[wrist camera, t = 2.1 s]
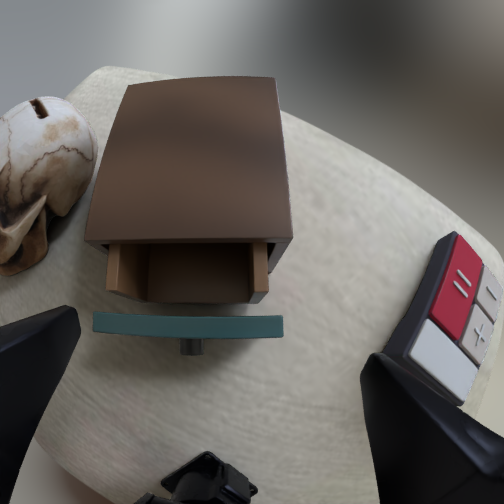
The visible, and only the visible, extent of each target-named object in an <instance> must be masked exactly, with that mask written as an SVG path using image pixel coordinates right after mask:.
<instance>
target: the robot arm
mask: <svg viewBox="0 0 504 504" xmlns="http://www.w3.org/2000/svg"><path fill="white" fill-rule="evenodd" d="M80 335H81V327H80V323H79V318H78V313H77V310H76V309H75V308H74V307H71V306H67V305H63V306H60V307H57V308H54V309H51V310H48V311H45V312H42V313H39V314H36V315H33V316H31V317H28V318H25V319H22V320H19V321H16V322H13V323H10V324H7V325H4V326H1V327H0V504H9V503H10V499H11V496H12V492H13V489H14V486H15V483H16V480H17V477H18V474H19V469H20V467H21V465H22V462H23V460H24V457H25V455H26V452H27V450H28V447H29V444H30V442H31V440H32V438H33V435H34V433H35V431H36V428H37V426H38V424H39V422H40V420H41V418H42V415H43V413H44V411H45V409H46V407H47V405H48V403H49V401H50V399H51V397H52V395H53V393H54V391H55V389H56V387H57V385H58V384H59V382H60V380H61V378H62V376H63V374H64V372H65V370H66V367H67V365H68V363H69V360H70V358H71V356H72V353H73V351H74V349H75V347H76V345H77V342H78V340H79V338H80ZM360 384H361V392H362V400H363V409H364V417H365V423H366V428H367V433H368V438H369V442H370V447H371V452H372V458H373V463H374V469H375V474H376V480H377V486H378V493H379V499H380V504H504V438H503V437H501V436H500V435H498V434H496V433H494V432H493V431H491V430H490V429H488V428H487V427H485V426H483V425H482V424H480V423H479V422H478V421H476V420H475V419H473V418H472V417H470V416H469V415H468V414H466V413H465V412H463V411H462V410H461V409H459V408H458V407H457V406H455V405H454V404H452V403H451V402H450V401H448V400H447V399H446V398H444V397H443V396H441V395H440V394H439V393H437V392H436V391H435V390H433V389H432V388H430V387H429V386H428V385H426V384H425V383H424V382H422V381H421V380H420V379H418V378H417V377H415V376H414V375H413V374H411V373H410V372H409V371H407V370H406V369H405V368H403V367H402V366H400V365H399V364H398V363H396V362H395V361H394V360H392V359H391V358H390V357H388V356H387V355H385V354H384V353H372V354H371V355H370V356H369V357H368V359H367V361H366V364H365V366H364V368H363V369H362V371H361V374H360ZM206 455H208V456H210V458H206V457H205V456H206ZM165 482H166V483H168V484H165ZM161 485H162V486H163V487H164V488H165V489H166V490H168V491H169V492H170V493H171V494H172V496H171V499H170V500H169V499H165V498H161V497H157V496H155V495H154V494H151V493H146V494H145V495H144V496H143V497H141V498H140V499H139V500H138V501H136V502H135V503H134V504H250V503H251V498H250V497H252V496H254V495H255V494H257V492H258V489H257V487H256V486H255V485H253V484H252V483H250V482H249V480H248V478H247V477H246V476H244V475H243V474H242V473H240V472H239V471H238V470H236V469H235V468H234V467H232V466H231V465H230V464H226V463H224V462H222V461H221V460H220V459H219V458H218V457H216V456H215V455H214V454H213V453H211V452H209V451H205V452H203V453H202V454H201V455H199V456H198V457H196V458H195V459H193V460H192V461H190V462H189V463H187V464H186V465H184V466H183V467H181V468H180V469H178V470H177V471H175V472H174V473H172V474H170V475H169V476H167V477H166V478H164V479H163V480H162V481H161ZM251 489H253V490H254V491H250V490H251Z"/></svg>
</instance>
